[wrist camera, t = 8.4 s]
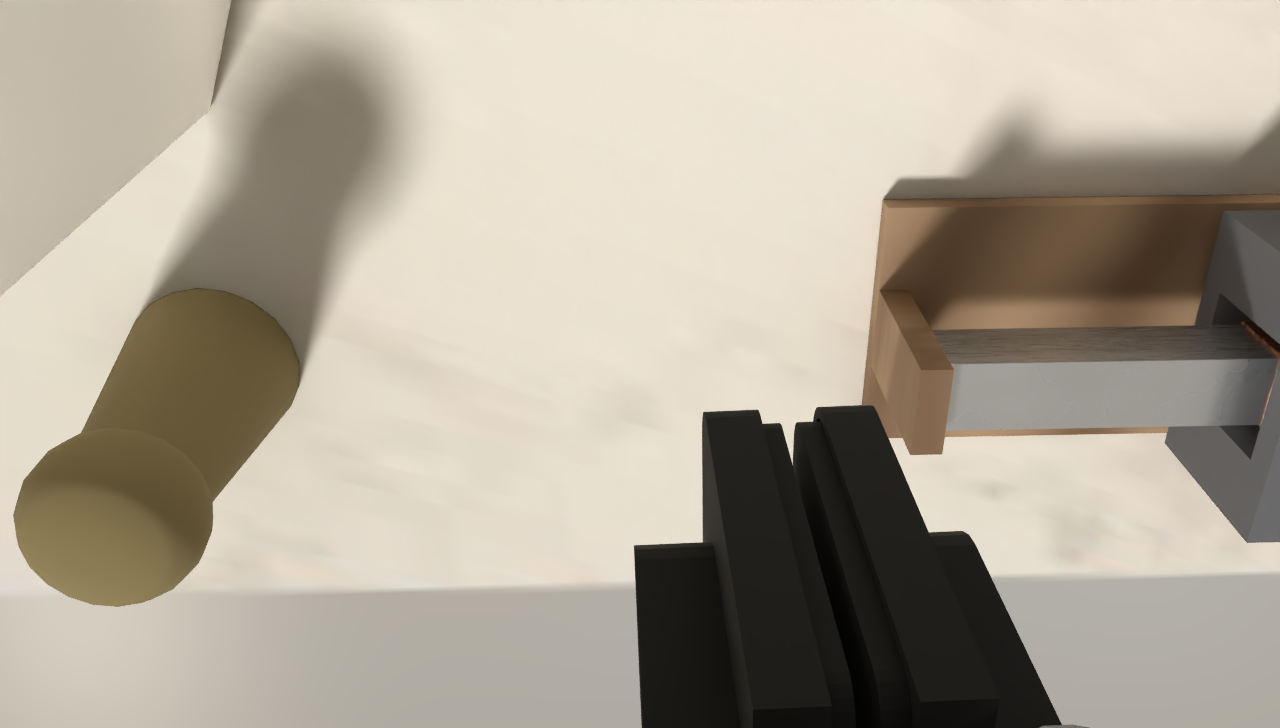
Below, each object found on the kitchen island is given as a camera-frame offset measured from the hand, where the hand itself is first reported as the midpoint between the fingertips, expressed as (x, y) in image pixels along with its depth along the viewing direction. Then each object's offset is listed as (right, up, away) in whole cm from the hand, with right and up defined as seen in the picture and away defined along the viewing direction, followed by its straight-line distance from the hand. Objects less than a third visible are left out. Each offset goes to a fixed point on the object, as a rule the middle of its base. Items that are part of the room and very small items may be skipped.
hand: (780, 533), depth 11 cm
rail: (+16, +2, +26) cm, 31 cm away
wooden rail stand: (+16, +3, +29) cm, 33 cm away
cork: (-17, +2, +29) cm, 34 cm away
